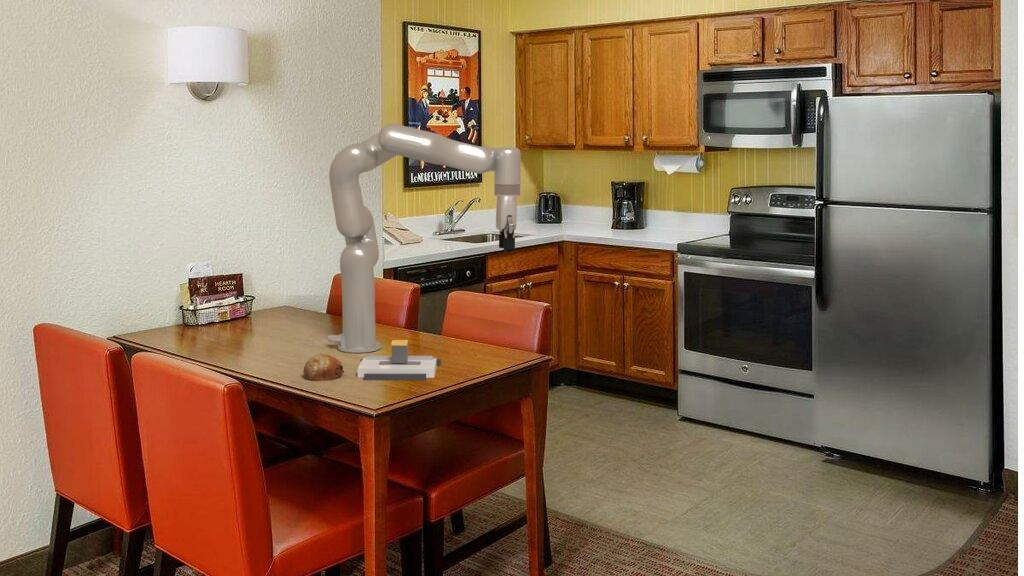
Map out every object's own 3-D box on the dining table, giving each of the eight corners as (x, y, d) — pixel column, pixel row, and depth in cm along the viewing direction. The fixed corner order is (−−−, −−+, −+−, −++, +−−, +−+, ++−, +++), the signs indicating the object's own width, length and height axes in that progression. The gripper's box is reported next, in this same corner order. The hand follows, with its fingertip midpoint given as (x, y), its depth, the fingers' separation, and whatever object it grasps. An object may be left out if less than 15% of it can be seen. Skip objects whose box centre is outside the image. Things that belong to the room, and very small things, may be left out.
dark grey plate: (352, 380, 250) (352, 374, 250) (361, 363, 267) (361, 358, 267) (437, 380, 250) (437, 375, 250) (440, 364, 268) (440, 359, 268)
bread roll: (313, 385, 258) (299, 359, 257) (348, 369, 259) (334, 342, 257) (309, 395, 249) (294, 368, 247) (345, 378, 249) (331, 351, 247)
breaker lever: (391, 363, 257) (391, 342, 256) (392, 360, 260) (392, 340, 259) (407, 363, 257) (406, 342, 256) (408, 360, 260) (407, 340, 259)
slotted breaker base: (357, 377, 252) (357, 365, 252) (363, 366, 264) (363, 355, 264) (434, 377, 253) (434, 365, 253) (436, 366, 265) (436, 355, 264)
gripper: (490, 189, 285) (490, 246, 288) (498, 192, 269) (497, 253, 271) (515, 189, 287) (515, 246, 289) (524, 192, 270) (524, 253, 272)
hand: (506, 249), depth 280 cm, fingers open, 9 cm apart
